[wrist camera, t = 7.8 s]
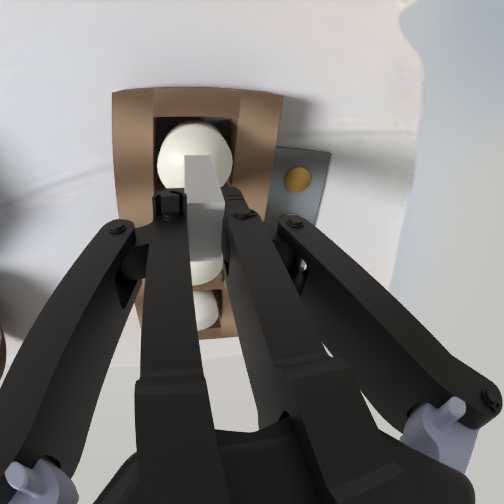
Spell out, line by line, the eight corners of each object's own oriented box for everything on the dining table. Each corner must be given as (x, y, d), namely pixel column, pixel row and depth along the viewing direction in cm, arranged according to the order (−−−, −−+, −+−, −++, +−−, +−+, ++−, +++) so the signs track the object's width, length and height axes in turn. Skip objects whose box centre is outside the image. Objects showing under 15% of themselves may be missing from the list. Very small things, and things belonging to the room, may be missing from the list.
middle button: (162, 214, 23) (160, 236, 20) (220, 213, 24) (226, 234, 21) (165, 261, 26) (165, 286, 23) (217, 259, 27) (222, 283, 24)
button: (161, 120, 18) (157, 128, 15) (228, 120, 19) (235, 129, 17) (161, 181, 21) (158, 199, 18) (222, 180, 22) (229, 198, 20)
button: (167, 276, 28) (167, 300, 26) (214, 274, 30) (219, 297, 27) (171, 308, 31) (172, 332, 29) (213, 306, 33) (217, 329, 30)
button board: (123, 89, 18) (112, 92, 15) (339, 104, 23) (362, 112, 19) (145, 316, 33) (144, 342, 30) (289, 306, 37) (299, 329, 34)
